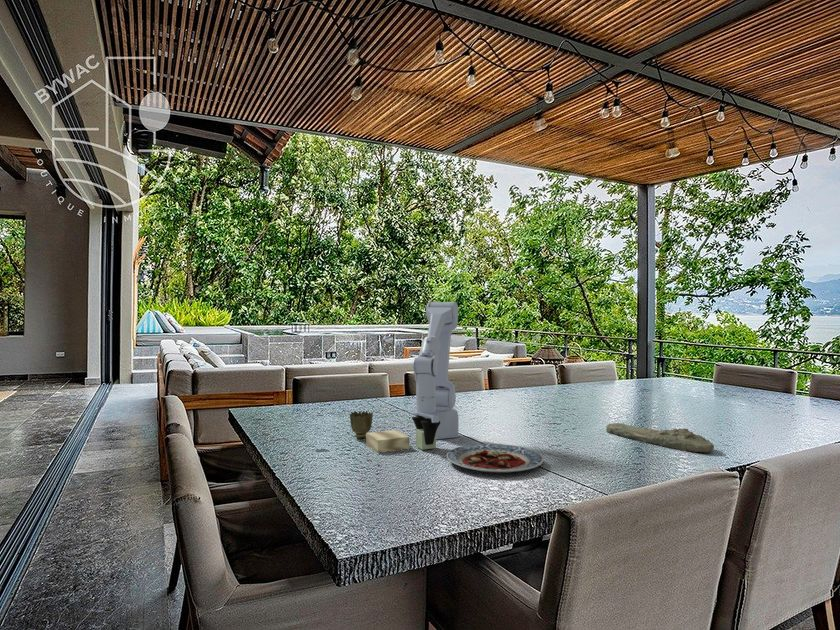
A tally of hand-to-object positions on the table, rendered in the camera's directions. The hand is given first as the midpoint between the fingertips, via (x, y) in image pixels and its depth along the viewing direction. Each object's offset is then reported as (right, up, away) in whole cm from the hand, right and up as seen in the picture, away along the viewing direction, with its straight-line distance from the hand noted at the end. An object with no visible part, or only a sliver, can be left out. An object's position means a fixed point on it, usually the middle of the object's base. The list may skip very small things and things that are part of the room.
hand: (425, 442), depth 157 cm
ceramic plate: (+18, -3, -15) cm, 24 cm away
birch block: (-12, -2, +2) cm, 12 cm away
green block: (0, -1, 0) cm, 1 cm away
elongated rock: (+72, -2, +9) cm, 73 cm away
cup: (-21, -2, +13) cm, 25 cm away
